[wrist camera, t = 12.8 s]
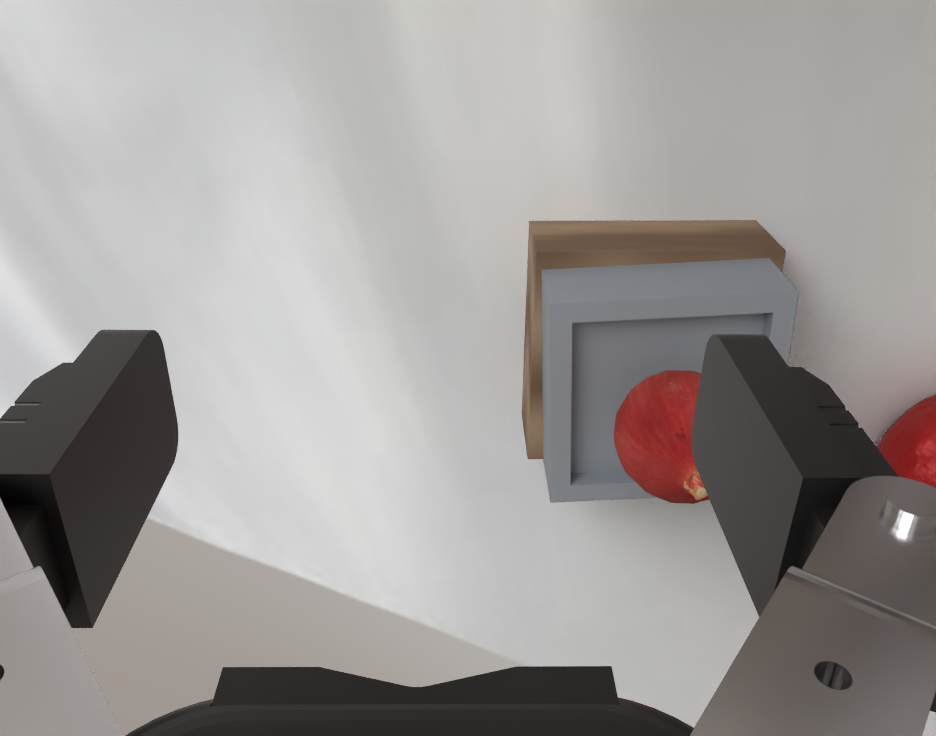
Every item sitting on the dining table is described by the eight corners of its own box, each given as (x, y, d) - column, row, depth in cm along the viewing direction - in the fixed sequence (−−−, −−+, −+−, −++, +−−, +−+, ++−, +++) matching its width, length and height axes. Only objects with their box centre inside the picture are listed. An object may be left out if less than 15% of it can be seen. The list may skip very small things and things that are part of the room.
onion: (731, 340, 40) (793, 434, 33) (712, 443, 42) (765, 549, 35) (608, 339, 39) (643, 433, 32) (596, 442, 42) (626, 550, 35)
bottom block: (528, 218, 45) (536, 252, 41) (753, 217, 45) (785, 251, 41) (521, 411, 51) (527, 459, 46) (720, 410, 51) (746, 457, 46)
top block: (541, 269, 41) (549, 303, 37) (769, 257, 41) (798, 291, 37) (542, 457, 46) (550, 502, 43) (744, 447, 46) (768, 491, 43)
